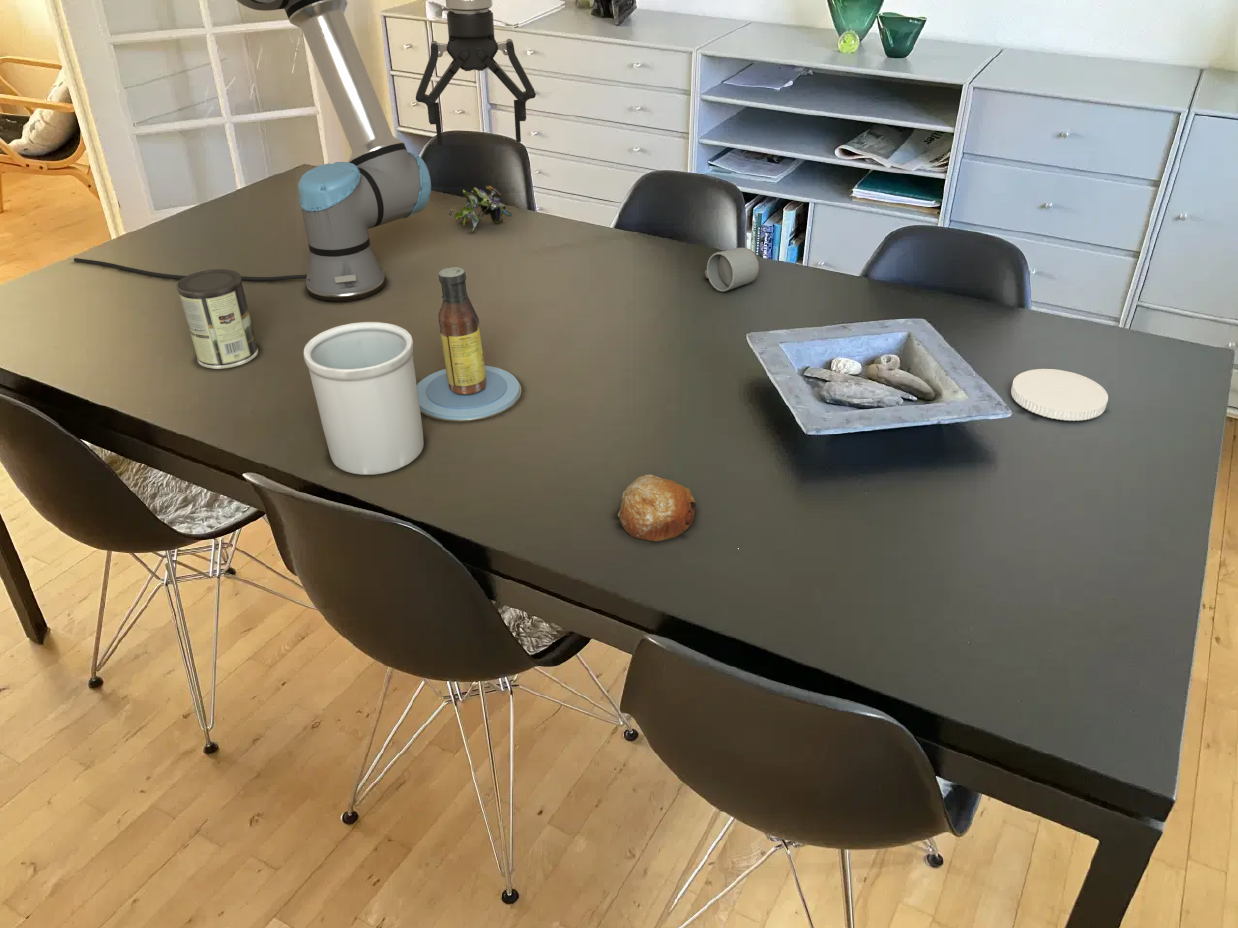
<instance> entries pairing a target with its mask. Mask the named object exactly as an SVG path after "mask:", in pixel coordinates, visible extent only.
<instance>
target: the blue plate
mask: <svg viewBox="0 0 1238 928" xmlns="http://www.w3.org/2000/svg"><path fill="white" fill-rule="evenodd" d="M485 371H486V386H485V388H484V389H483V390H481V391H480V392H478V393H476V394H471V395H460V394H456V393H454V392H453V391H451V390H450V388H449V383H448V381H447V375H446V368H444V369H440V370H438V371H437V370H436V371H435V372H433V373H431V374H428V375H427V376H425V377H424V378H422V379H421V380H420V381H419V382H418V383H417V391H418V399H419V406H420V413H421V415H424V416H426V417H428V418H431V419H433V420H437V421H442V422H450V423H468V422H470V423H471V422H478V421H482V420H488V419H491V418H494V417H497V416H498V415H502V414H503V413H506V412H507V411H509V410H510V409H512V408H513V407H515V406H516V404H517V403H518V402H519V401H520V399H521V397H522V391H523V390H522V385H521V384H520V383H521V382H519V381H518V379H517V378H516V376H515V375H513V374H512V373H510V372H509V371H507V370H505V369H502V368H500V367H495V366H492V365H491V366H490V365H485Z"/></svg>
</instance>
